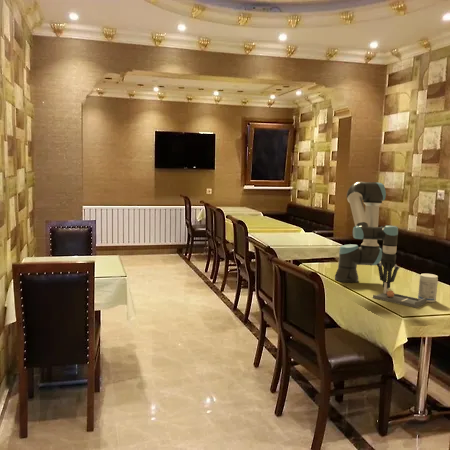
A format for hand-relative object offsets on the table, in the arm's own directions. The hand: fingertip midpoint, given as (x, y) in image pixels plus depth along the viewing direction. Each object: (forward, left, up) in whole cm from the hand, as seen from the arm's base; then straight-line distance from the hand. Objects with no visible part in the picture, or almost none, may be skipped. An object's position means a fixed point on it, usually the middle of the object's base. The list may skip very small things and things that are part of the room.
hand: (385, 293), depth 275 cm
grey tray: (+7, 0, -3) cm, 8 cm away
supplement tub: (+18, +13, -3) cm, 23 cm away
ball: (+3, 0, 0) cm, 3 cm away
